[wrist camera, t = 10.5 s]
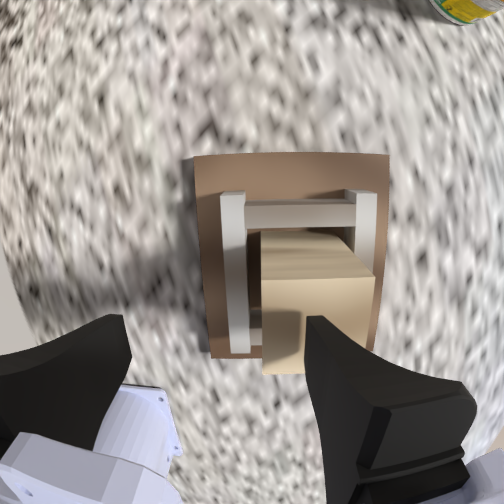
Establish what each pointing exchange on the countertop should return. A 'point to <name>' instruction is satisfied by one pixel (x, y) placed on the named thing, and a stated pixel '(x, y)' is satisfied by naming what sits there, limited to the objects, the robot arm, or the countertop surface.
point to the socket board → (280, 228)
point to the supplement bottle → (467, 9)
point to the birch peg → (309, 293)
